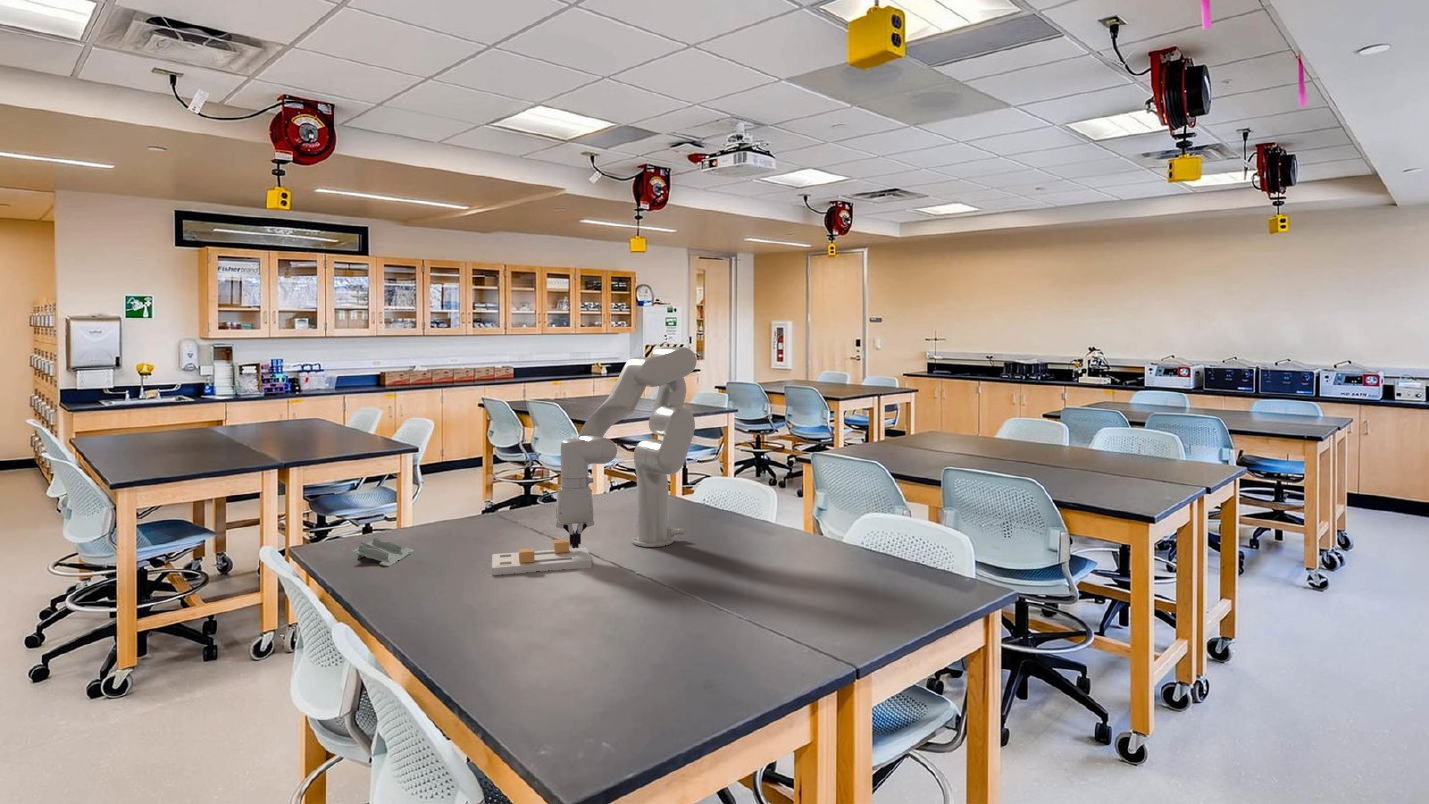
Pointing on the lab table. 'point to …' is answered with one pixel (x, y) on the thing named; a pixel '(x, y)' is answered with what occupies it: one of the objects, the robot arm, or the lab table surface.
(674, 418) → the robot arm
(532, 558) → the switch tab
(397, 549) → the metal bracket
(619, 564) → the lab table surface
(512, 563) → the switch panel
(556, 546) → the switch tab
